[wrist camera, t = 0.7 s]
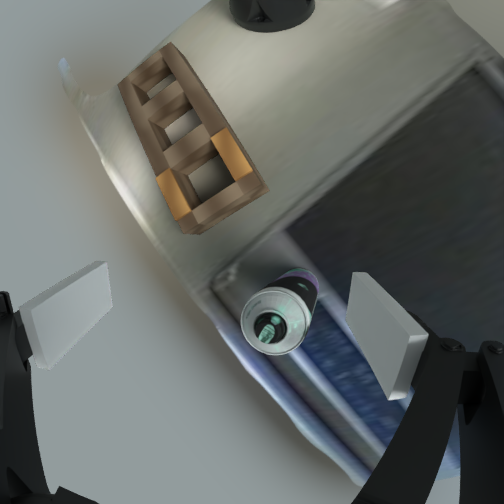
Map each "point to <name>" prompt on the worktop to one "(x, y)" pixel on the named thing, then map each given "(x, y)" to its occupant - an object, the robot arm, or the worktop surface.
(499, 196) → the worktop surface
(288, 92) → the worktop surface
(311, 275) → the spray can
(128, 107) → the rack
